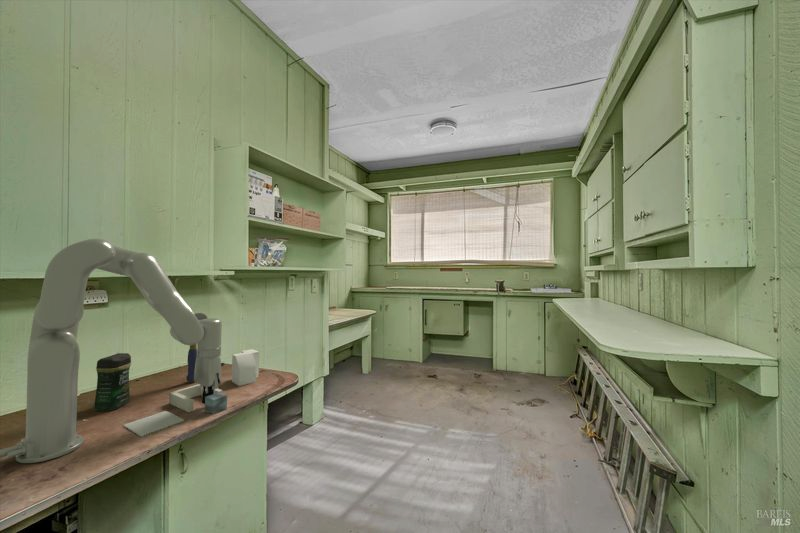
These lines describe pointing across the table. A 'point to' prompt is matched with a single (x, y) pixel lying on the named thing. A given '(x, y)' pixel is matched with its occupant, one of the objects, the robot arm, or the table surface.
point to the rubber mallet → (193, 354)
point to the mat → (153, 423)
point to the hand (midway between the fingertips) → (207, 402)
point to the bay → (186, 397)
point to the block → (216, 402)
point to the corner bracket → (245, 367)
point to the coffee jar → (112, 382)
